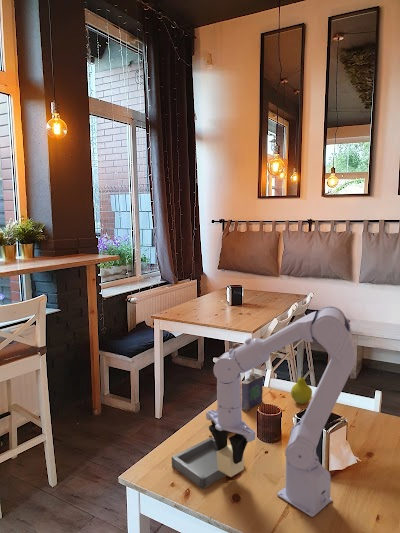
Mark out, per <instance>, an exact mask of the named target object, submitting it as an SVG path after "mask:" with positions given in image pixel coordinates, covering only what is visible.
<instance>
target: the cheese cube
mask: <svg viewBox="0 0 400 533" xmlns="http://www.w3.org/2000/svg"><path fill="white" fill-rule="evenodd" d="M217 466H218V470H219V471H221V472H223V473H225V474H226V475H225V476H228V477H230V478H232V477H234V476H235V475H237V474H239V473H241V472H242V471H244V470H245V460H244V456H243V457H242V461H241V462H239V463H237V464H235V463H234V461H233V451H232V446H231V444H227V447H225V448H223V449H221V450H219V451H217Z"/></svg>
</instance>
